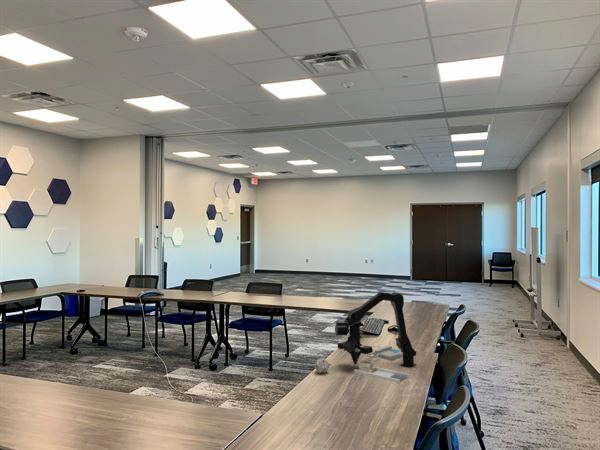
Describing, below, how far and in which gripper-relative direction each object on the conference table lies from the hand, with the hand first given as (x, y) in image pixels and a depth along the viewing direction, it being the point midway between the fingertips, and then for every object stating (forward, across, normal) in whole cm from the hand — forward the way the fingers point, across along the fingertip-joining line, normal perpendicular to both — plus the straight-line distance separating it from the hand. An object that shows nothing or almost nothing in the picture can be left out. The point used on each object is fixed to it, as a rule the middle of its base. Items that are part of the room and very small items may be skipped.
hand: (355, 364), depth 229 cm
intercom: (+3, +1, +28) cm, 29 cm away
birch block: (+2, +7, 0) cm, 8 cm away
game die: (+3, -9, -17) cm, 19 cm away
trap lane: (+2, +16, 0) cm, 16 cm away
